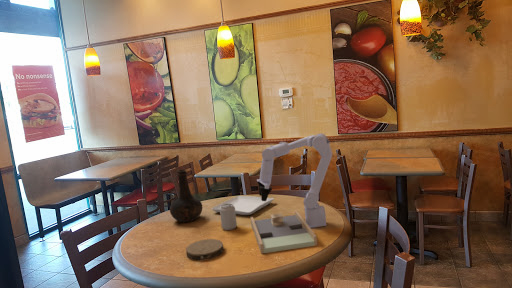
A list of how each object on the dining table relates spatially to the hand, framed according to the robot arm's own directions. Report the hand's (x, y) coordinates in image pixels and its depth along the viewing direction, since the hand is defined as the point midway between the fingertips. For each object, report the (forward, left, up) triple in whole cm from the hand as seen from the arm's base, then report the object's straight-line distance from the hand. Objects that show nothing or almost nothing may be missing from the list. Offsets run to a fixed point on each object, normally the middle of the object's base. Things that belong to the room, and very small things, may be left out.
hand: (262, 198), depth 190 cm
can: (+18, -3, -14) cm, 23 cm away
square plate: (+8, -33, -14) cm, 37 cm away
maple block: (-5, +6, -12) cm, 14 cm away
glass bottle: (+40, -26, -14) cm, 49 cm away
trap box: (-5, +15, -14) cm, 21 cm away
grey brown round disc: (+30, +23, -14) cm, 40 cm away
